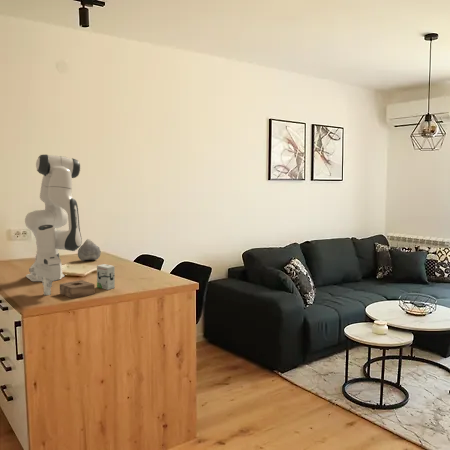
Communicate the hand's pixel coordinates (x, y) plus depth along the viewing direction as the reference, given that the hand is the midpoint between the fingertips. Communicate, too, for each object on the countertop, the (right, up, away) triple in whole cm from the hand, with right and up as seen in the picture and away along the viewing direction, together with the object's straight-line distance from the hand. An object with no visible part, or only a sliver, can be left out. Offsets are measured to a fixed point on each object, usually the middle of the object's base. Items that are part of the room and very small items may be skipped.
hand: (47, 286), depth 225 cm
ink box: (+25, -3, +16) cm, 29 cm away
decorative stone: (-5, +5, +87) cm, 88 cm away
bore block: (+14, -4, +2) cm, 15 cm away
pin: (0, -4, 0) cm, 4 cm away
